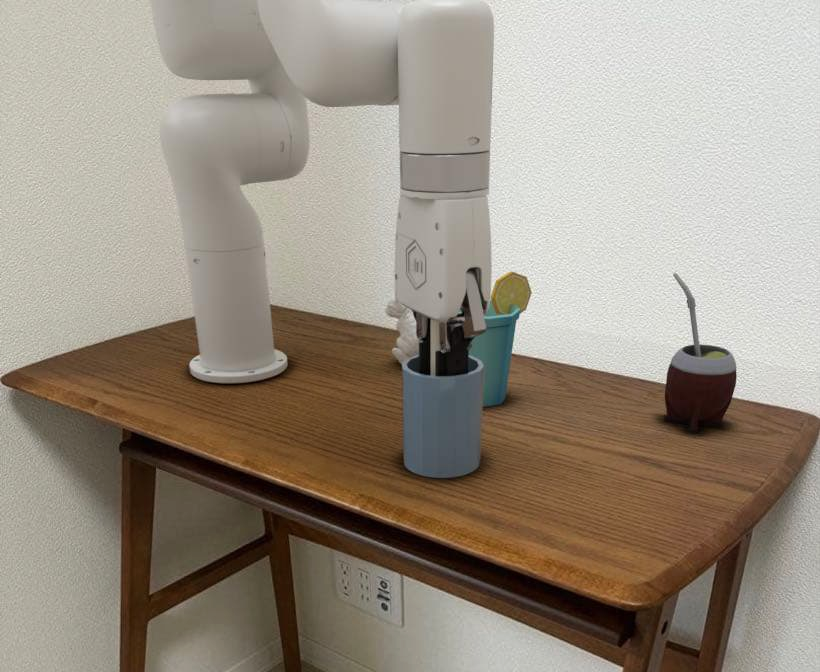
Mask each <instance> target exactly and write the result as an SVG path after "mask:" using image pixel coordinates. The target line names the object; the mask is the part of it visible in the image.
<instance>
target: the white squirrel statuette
mask: <svg viewBox="0 0 820 672" xmlns="http://www.w3.org/2000/svg"><path fill="white" fill-rule="evenodd" d="M384 313H385V315H386V316H387V317H388V316H389V317H390V318H395V319H398V320H397V322H396V326H395V328H396V330H397V331H398V333H399V336H398V337H397V338H396V340H395V343H396V346H397V347H393V348H392V350H391V354H392V355H393V356H394V357H395V358H396V359H397V360H398V363H399V364H401V365H402V363H403V362H404V361H405V360H406V359H407V358H410V357H413V356H415V355H419V342H423V341H419V340H418V339H417V336H416V320H415V318H414V316H413V312H412V310H411V309H409V308H407V307H405V306H404V305H402V304H401V303H400V302H399V301H398V300H397V298H396V296H395V293H394V294H393V295H392V296H391V297H390V298H389V299H388V302H387V305H386V307H385V309H384Z"/></svg>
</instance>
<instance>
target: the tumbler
mask: <svg viewBox="0 0 820 672" xmlns="http://www.w3.org/2000/svg"><path fill="white" fill-rule="evenodd" d="M483 379H484V365H483V363H482V361H481V360H479V359H477V358H475V357H473V356H470V355H468V373H467V374H461V375H456V376H431V375H424V374H420V373H419V355H415V356H413V357H410V358H407V359H406V360H405V361H404V362H403V363H402V364H401V407H402V408H401V409H402V411H401V414H402V456H403V465H404V467H405V468H406V469H407V470H408V471H409V472H412V473H413V474H416V475H419V476H422V477H427V478H434V479H452V478H457V477H463V476H466V475H468V474H470V473H473V472H474V471H476V470H477V469H478V468H479V466H480V464H481V455H482V434H483V433H482V432H483V431H482V430H483V429H482V428H483V408H484V407H483Z"/></svg>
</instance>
